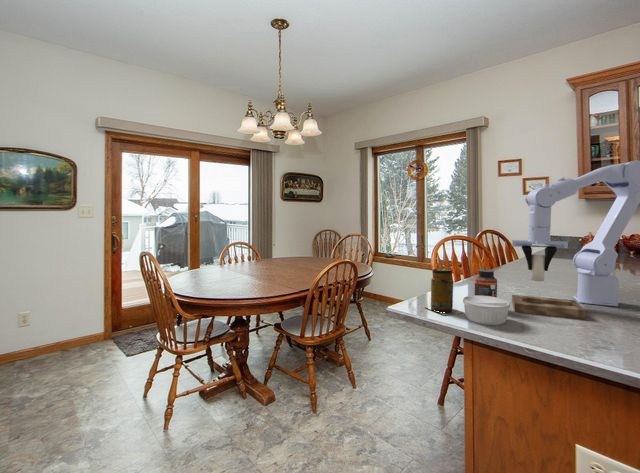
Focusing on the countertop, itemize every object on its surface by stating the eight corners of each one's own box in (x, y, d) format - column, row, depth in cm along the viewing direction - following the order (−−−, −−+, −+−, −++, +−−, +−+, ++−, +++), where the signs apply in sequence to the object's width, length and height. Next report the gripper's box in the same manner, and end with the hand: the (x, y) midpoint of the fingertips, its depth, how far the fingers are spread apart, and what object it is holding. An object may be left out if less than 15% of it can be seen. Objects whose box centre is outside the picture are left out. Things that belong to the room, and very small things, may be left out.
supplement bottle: (499, 311, 94) (500, 272, 93) (477, 310, 95) (478, 271, 94) (492, 305, 100) (493, 268, 99) (471, 304, 101) (472, 268, 100)
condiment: (443, 305, 100) (443, 266, 100) (464, 313, 93) (464, 271, 92) (423, 308, 98) (424, 268, 97) (443, 316, 90) (443, 273, 89)
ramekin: (488, 329, 79) (489, 308, 79) (453, 316, 90) (453, 297, 89) (519, 323, 84) (520, 303, 84) (482, 311, 94) (483, 293, 94)
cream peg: (543, 279, 104) (544, 254, 104) (544, 281, 101) (545, 256, 100) (530, 278, 106) (530, 254, 105) (531, 280, 103) (532, 255, 102)
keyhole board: (574, 308, 96) (574, 300, 96) (584, 319, 86) (585, 310, 86) (511, 302, 103) (511, 294, 103) (514, 311, 93) (514, 303, 93)
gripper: (513, 227, 102) (511, 270, 103) (570, 228, 95) (568, 273, 96) (512, 226, 108) (510, 267, 109) (565, 227, 102) (563, 270, 103)
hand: (537, 270), depth 103 cm, fingers closed on cream peg, 4 cm apart
